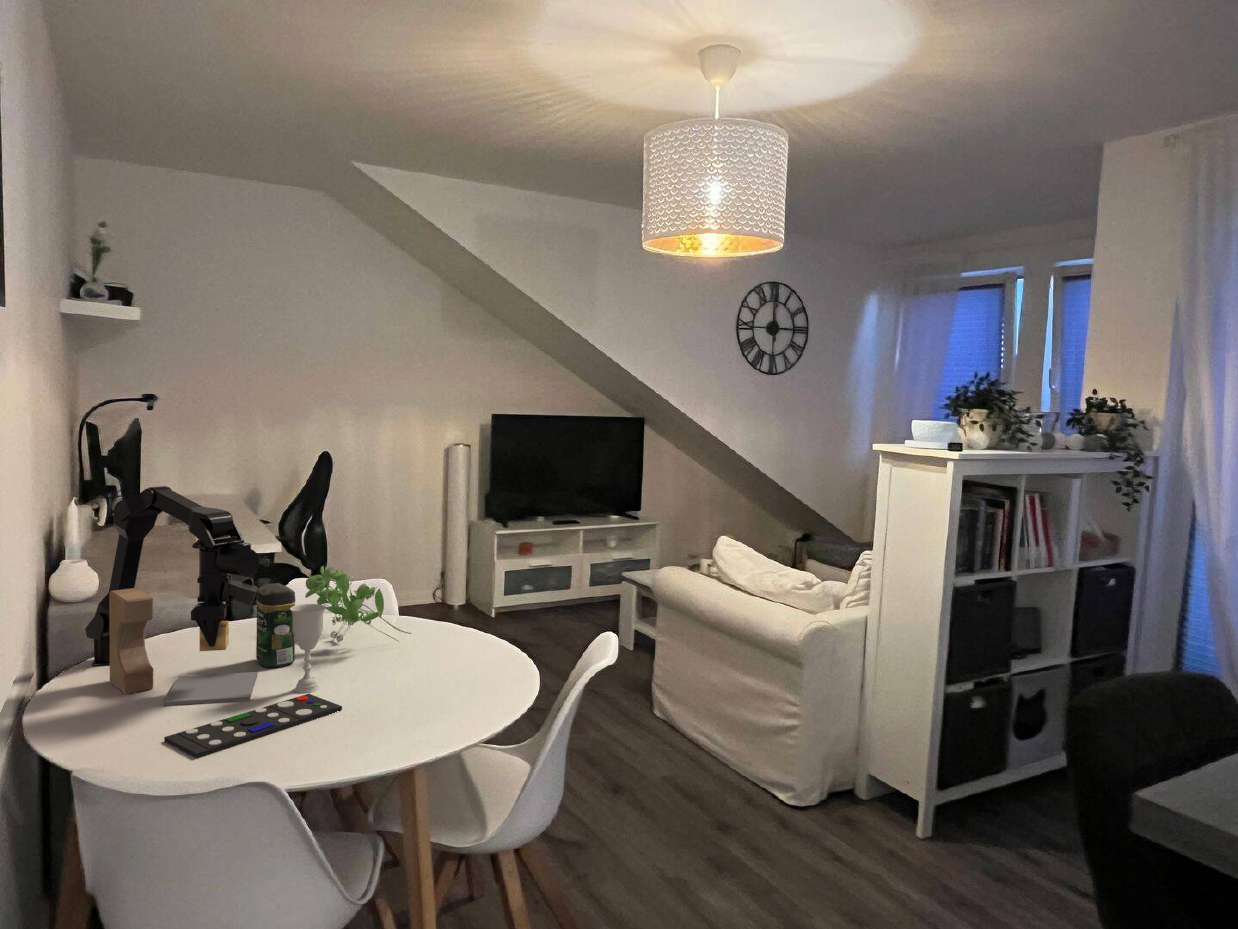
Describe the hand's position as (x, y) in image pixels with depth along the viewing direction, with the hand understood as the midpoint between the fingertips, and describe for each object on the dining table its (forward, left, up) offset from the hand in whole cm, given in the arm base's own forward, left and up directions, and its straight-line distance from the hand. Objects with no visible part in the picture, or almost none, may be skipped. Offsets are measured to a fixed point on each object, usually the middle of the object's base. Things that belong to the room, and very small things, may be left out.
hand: (214, 642), depth 181 cm
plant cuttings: (+29, +33, -11) cm, 45 cm away
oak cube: (0, 0, -1) cm, 1 cm away
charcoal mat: (0, 0, -10) cm, 10 cm away
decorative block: (-17, +6, -11) cm, 21 cm away
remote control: (+11, -22, -11) cm, 27 cm away
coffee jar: (+11, +17, -11) cm, 23 cm away
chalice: (+19, -3, -11) cm, 22 cm away
